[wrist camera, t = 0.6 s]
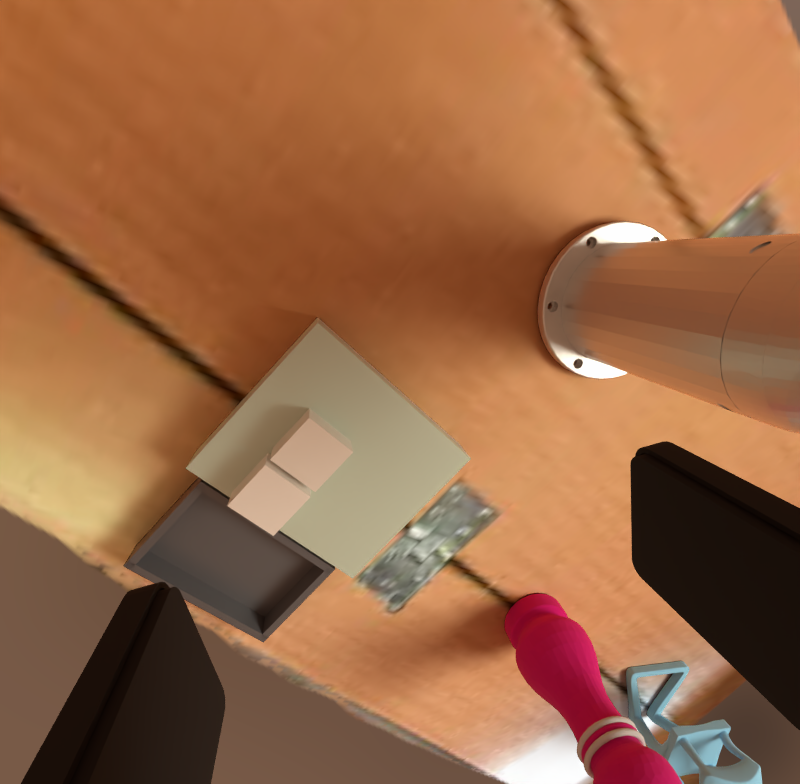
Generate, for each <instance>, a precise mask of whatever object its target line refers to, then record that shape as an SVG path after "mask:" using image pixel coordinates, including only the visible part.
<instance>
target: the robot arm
mask: <svg viewBox="0 0 800 784" xmlns="http://www.w3.org/2000/svg"><path fill="white" fill-rule="evenodd" d="M586 242H587V245H586ZM548 304H549V305H550V306H549V308H548ZM538 325H539V329H540V333H541V337H542V339H543V342H544V344H545V346H546V348H547V350H548V351H549V353H550V354H551V355H552V357H553V358H554V359H555V360H556V361H557V362H558V363H559V364H560V365H562V366H563V367H564V368H566V369H568V370H570V371H572V372H574V373H576V374H578V375H581V376H584V377H586V378H593V379H610V378H615V377H618V376H622V375H625V374H627V373H630V374H632V375H635V376H638V377H640V378H643V379H646V380H649V381H651V382H654V383H657V384H659V385H662V386H665V387H667V388H670V389H673V390H676V391H678V392H681V393H684V394H686V395H689V396H692V397H695V398H697V399H700V400H703V401H705V402H708V403H711V404H714V405H716V406H719V407H722V408H724V409H727V410H730V411H732V412H735V413H738V414H741V415H744V416H747V417H750V418H753V419H755V420H758V421H761V422H763V423H766V424H769V425H772V426H774V427H777V428H780V429H784V430H787V431H791V432H795V433H800V234H782V235H762V236H742V237H722V238H702V239H682V240H667V239H666V238H665V237H664V236H663V235H662V234H661V233H659V232H658V231H656V230H655V229H653V228H652V227H649V226H647V225H644V224H641V223H637V222H629V221H622V222H611V223H607V224H602V225H598V226H596V227H593V228H591V229H589V230H587V231H585V232H583V233H582V234H580V235H579V236H577V237H576V238H574V239H573V240H572V241H571V242H570V243H569V244H568V245H567V246H566V247H565V248H564V249H563V250H562V251H561V252H560V253H559V254H558V256H557V257H556V259H555V260H554V261H553V263H552V264H551V266H550V268H549V270H548V272H547V274H546V276H545V278H544V281H543V284H542V288H541V291H540V295H539V303H538ZM631 522H632V562H633V565H634V567H635V570H636V571H637V573H638V574H639V576H640V577H641V578H642V579H643V580H644V581H645V582H646V583H647V584H648V585H649V586H650V587H651V588H652V589H653V590H654V591H655V592H656V593H657V594H659V595H660V596H661V597H662V598H663V599H664V600H665V601H666V602H667V603H668V604H669V605H670V606H671V607H672V608H673V609H674V610H675V611H676V612H677V613H678V614H679V615H680V616H681V617H682V618H683V619H684V620H685V621H686V622H687V623H688V624H690V625H691V626H692V627H693V628H694V629H695V630H696V631H697V632H698V633H699V634H700V635H701V636H702V637H703V638H704V639H705V640H706V641H707V642H708V643H709V644H710V645H711V646H712V647H713V648H714V649H715V650H716V651H717V652H718V653H719V654H721V655H722V656H723V657H724V658H725V659H726V660H727V661H728V662H729V663H730V664H731V665H732V666H733V667H734V668H735V669H736V670H737V671H738V672H739V673H740V674H741V675H742V676H743V677H744V678H745V679H746V680H747V681H748V682H750V683H751V684H752V685H753V686H754V687H755V688H756V689H757V690H758V691H759V692H760V693H761V694H762V695H763V696H764V697H765V698H766V699H767V700H768V701H769V702H770V703H771V704H772V705H773V706H774V707H775V708H776V709H777V710H778V711H780V712H781V713H782V714H783V715H784V716H785V717H786V718H787V719H788V720H789V721H790V722H791V723H792V724H793V725H794V726H795V727H796V728H798V729H799V730H800V508H798V507H796V506H794V505H792V504H790V503H788V502H786V501H784V500H782V499H780V498H779V497H777V496H775V495H773V494H771V493H769V492H767V491H765V490H763V489H761V488H759V487H757V486H755V485H753V484H751V483H749V482H747V481H745V480H743V479H741V478H739V477H737V476H736V475H734V474H732V473H730V472H728V471H726V470H724V469H722V468H720V467H718V466H716V465H714V464H712V463H710V462H708V461H706V460H704V459H702V458H700V457H698V456H696V455H694V454H693V453H691V452H689V451H687V450H685V449H683V448H681V447H679V446H677V445H675V444H673V443H670V442H667V441H666V442H660V443H657V444H653V445H650V446H646V447H642V448H640V449H639V450H637V452H636V456H635V457H634V458H632V460H631ZM224 710H225V695H224V690H223V687H222V685H221V682H220V680H219V678H218V675H217V673H216V671H215V669H214V666H213V664H212V662H211V660H210V657H209V655H208V653H207V651H206V648H205V646H204V644H203V642H202V639H201V637H200V635H199V633H198V630H197V628H196V626H195V623H194V621H193V619H192V617H191V614H190V612H189V610H188V608H187V605H186V603H185V601H184V599H183V596H182V594H181V592H180V590H179V589H178V588H177V587H171V588H170V587H169V586H168V584H166V583H165V582H159V583H155V584H151V585H148V586H144V587H141V588H137V589H134V590H131V591H129V592H127V594H126V595H125V596H124V598H123V600H122V601H121V603H120V605H119V607H118V609H117V610H116V612H115V614H114V616H113V618H112V620H111V621H110V623H109V625H108V627H107V629H106V630H105V633H104V634H103V636H102V638H101V639H100V641H99V643H98V645H97V647H96V649H95V650H94V652H93V654H92V656H91V658H90V659H89V661H88V663H87V665H86V667H85V668H84V670H83V672H82V674H81V676H80V678H79V679H78V681H77V683H76V685H75V686H74V688H73V690H72V692H71V694H70V696H69V697H68V699H67V701H66V703H65V705H64V707H63V708H62V710H61V712H60V714H59V716H58V717H57V719H56V721H55V723H54V724H53V726H52V728H51V730H50V732H49V734H48V735H47V737H46V739H45V741H44V743H43V745H42V746H41V748H40V750H39V752H38V753H37V755H36V757H35V759H34V761H33V762H32V764H31V766H30V768H29V770H28V772H27V773H26V775H25V777H24V779H23V781H22V783H21V784H211V779H212V774H213V769H214V763H215V759H216V753H217V748H218V743H219V737H220V732H221V727H222V722H223V717H224Z"/></svg>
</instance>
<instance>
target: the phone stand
mask: <svg viewBox="0 0 800 784" xmlns="http://www.w3.org/2000/svg"><path fill="white" fill-rule="evenodd" d="M688 672H689V667H688V666H687V665H686V664H685V663H684V662H683V661H676V662H668V663H660V664H652V665H644V666H636V667H629V668H628V669H627V671H626V684H627V693H628V703H629V718H630V720H631V721H632V722H633V723H634V724H635V726H636V728H637V730H638V731H639V733H641V735H642V736H643V737H644V740H645V743H646V744H647V746H648V748H651V749H653V750H654V751H656V752H657V753H659V754H660V755H662V756H663V757H664V758H665V759H666V760H667V761H668V762H669V763H670V765H671V766H672V767H673V768H674V770H675V772H676V773H677V775H678V777H679V776H682V775H688V774H695V773H699V784H762V777H761V768H760V766H759V765H758V764H757V763H756V762H754V761H753V760H752V759H750V757H748V756H747V755H746V754H744V753H743V752H741V751H740V750H739V749H738V748H737V747H736V746H735V745H734V744H733V743H732V741H731V740H730V738H729V736H728V734H729V732H730V729H731V727H730V726H729V725H728V724H727V723H726V721H725V720H724V719H722V720H716V721H712V722H709V723H706V724H701V725H695V726H678V725H676V724H675V723H673V722H671V721H669V720H668V719H666V718H665V717H663V716H661V713H662V711H663V710H664V708H665V706H666V705H667V703H668V702H669V701H670V699H671V698H672V696H673V695H674V693H675V692H676V690H677V689H678V688H679V686H680V685H681V683H682V682H683V680H684V679H685V677H686V675H687V674H688ZM671 673H673V674H672V676H671V677H670V679H669V680H668V681H667V683H666V684H665V686H664V687H663V688H662V690H661V691H660V693H659V694H658V695H657V697H656V698H655V700H654V701H653V702H652V704H651V706H650V707H649V709H648V711H647V716H648V717H649V718H650V719H651V720H652V722H654V723H655V724H657V725H659V726H660V727H662V728H663V729H665V730H667V731H668V732H670V733H669V736H668V739H667V740H666V742H665V743H664V744H660V743H659V742H658V741H657V740H656V739H655V738H654V736H653V735H652V733H651V732H650V730H649V729H648V727H647V726H646V724H645V722H644V721H643V719H642V717H641V708H640V700H639V694H638V688H637V678H639V677H645V676H654V675H662V674H671ZM723 744H724V746H725V747H726V748H727V749H728V750H729V751H730V752H731V753H733V754H734V755H736V756H737V757H738V758H740V759H742V761H740V762H738V763H736V764H734V765H731V766H725V767H715V766H716V764H717V760H718V756H719V753H720V751H721V748H722V746H723ZM679 778H680V777H679ZM680 780H681V778H680ZM681 782H682V784H684V783H683V781H682V780H681Z"/></svg>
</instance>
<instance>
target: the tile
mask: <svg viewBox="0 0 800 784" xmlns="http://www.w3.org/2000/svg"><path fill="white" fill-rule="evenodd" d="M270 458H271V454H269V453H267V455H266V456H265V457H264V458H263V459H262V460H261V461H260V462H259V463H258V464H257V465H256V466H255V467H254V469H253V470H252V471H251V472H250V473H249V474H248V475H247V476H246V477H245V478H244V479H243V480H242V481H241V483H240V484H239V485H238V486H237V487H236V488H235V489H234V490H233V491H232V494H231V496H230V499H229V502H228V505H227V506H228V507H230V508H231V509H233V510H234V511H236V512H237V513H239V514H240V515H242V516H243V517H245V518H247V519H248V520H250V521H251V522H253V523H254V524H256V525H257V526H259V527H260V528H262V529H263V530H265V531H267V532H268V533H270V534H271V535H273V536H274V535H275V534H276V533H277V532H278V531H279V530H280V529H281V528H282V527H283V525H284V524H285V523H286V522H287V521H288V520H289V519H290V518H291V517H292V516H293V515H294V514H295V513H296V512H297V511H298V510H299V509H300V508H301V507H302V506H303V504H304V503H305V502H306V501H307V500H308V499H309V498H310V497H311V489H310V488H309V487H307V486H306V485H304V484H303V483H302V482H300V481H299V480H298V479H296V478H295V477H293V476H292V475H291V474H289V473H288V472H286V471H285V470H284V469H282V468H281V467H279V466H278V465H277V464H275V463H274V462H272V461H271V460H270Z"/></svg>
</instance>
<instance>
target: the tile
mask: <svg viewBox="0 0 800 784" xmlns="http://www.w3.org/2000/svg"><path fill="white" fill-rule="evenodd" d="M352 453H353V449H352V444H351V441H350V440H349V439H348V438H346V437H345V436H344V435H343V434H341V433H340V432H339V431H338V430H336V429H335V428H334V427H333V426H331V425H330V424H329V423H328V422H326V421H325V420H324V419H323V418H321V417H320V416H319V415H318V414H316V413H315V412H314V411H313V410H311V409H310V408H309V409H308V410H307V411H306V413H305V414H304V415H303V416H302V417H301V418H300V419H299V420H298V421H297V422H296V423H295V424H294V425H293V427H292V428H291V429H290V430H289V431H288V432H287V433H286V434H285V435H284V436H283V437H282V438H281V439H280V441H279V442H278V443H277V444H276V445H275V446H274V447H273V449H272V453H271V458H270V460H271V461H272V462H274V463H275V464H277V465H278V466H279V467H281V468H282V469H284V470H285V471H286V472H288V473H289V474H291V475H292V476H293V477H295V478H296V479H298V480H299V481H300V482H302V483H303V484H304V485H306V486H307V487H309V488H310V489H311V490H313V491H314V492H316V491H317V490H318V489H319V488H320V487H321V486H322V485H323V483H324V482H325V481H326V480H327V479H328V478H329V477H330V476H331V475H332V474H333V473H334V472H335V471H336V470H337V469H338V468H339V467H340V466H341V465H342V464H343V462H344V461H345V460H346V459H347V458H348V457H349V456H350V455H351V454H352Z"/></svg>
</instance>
